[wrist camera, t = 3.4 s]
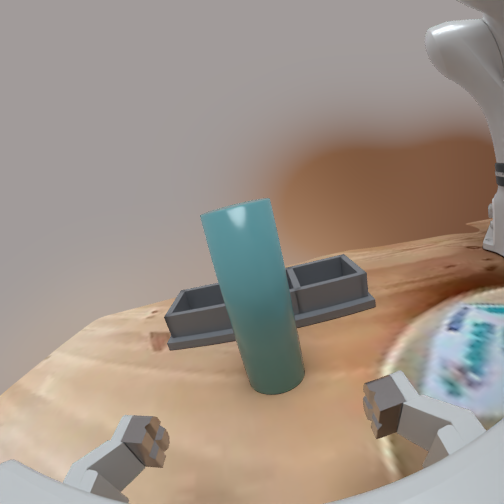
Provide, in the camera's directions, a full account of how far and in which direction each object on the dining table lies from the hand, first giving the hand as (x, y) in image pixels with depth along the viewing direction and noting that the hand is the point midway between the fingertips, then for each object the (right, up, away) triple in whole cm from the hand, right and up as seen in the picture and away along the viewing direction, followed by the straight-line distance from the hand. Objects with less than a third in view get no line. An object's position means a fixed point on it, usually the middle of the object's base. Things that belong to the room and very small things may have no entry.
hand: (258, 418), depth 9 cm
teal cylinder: (+2, -5, +14) cm, 15 cm away
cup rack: (+2, -2, +26) cm, 27 cm away
